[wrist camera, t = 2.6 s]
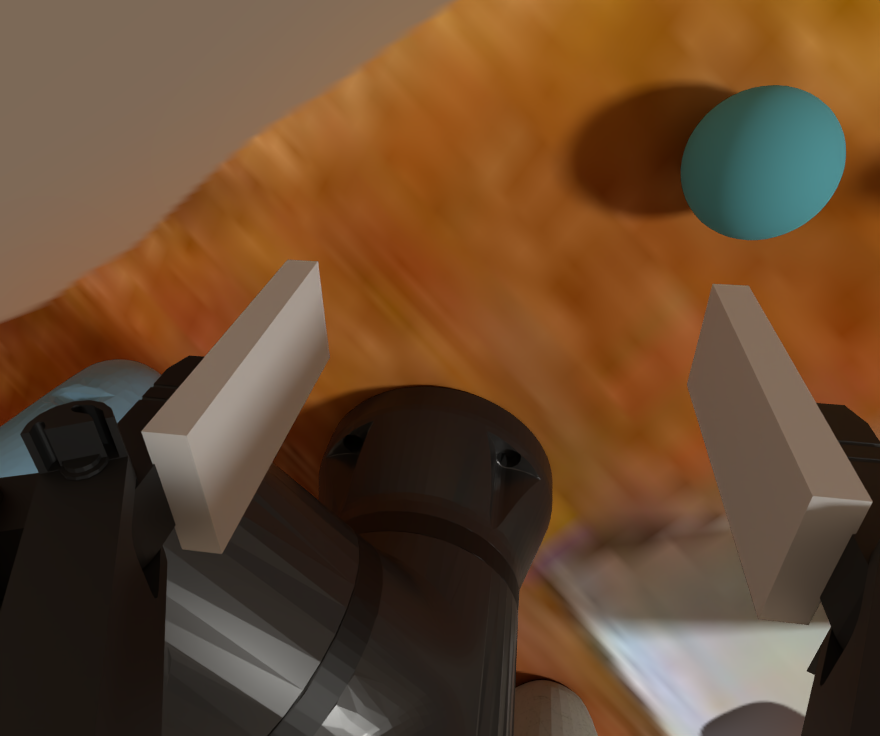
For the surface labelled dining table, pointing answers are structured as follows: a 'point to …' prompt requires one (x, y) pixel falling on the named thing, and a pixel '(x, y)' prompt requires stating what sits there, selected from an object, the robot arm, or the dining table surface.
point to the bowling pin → (550, 711)
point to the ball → (763, 162)
